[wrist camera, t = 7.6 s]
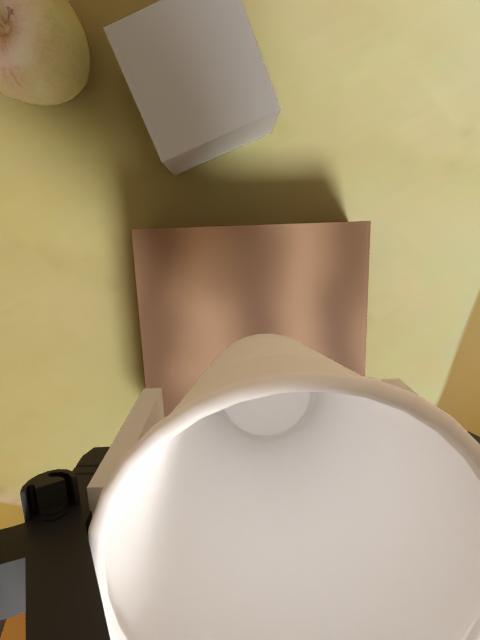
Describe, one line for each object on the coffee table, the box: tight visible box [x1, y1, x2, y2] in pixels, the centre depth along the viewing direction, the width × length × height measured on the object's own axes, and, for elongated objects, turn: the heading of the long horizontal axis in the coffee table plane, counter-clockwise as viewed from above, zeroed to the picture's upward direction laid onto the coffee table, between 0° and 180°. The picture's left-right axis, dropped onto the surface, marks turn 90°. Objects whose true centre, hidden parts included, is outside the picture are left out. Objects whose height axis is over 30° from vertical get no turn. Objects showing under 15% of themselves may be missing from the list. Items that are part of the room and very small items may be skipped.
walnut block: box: [131, 221, 371, 418], centre depth 30 cm, size 16×16×5 cm
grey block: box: [103, 0, 281, 175], centre depth 26 cm, size 8×8×6 cm
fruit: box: [0, 0, 90, 106], centre depth 25 cm, size 8×7×8 cm
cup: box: [88, 334, 480, 640], centre depth 14 cm, size 10×10×11 cm
